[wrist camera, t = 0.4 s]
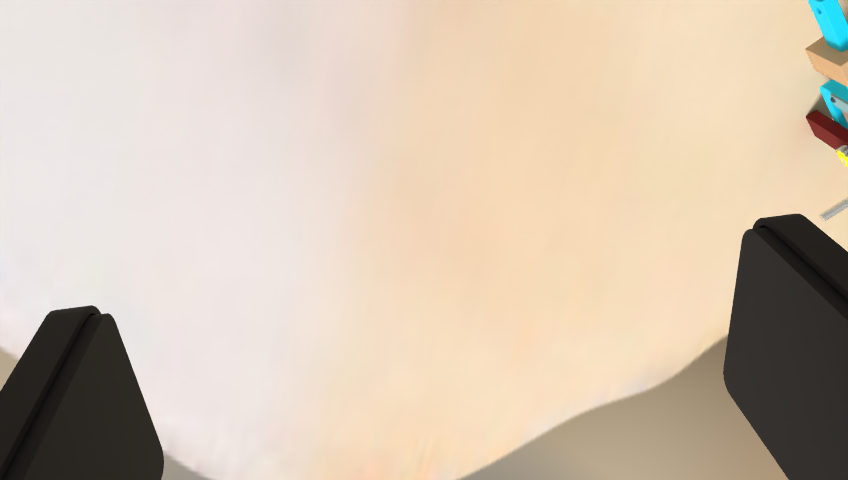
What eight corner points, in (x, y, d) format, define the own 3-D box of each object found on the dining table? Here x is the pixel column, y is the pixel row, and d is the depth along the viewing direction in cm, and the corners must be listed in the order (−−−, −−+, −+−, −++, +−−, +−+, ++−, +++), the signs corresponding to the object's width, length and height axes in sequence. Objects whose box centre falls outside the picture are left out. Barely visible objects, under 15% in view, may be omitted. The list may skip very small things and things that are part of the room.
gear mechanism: (893, 222, 46) (1011, 309, 38) (815, 270, 48) (913, 363, 39) (773, -39, 37) (894, 2, 29) (680, 28, 38) (772, 85, 30)
